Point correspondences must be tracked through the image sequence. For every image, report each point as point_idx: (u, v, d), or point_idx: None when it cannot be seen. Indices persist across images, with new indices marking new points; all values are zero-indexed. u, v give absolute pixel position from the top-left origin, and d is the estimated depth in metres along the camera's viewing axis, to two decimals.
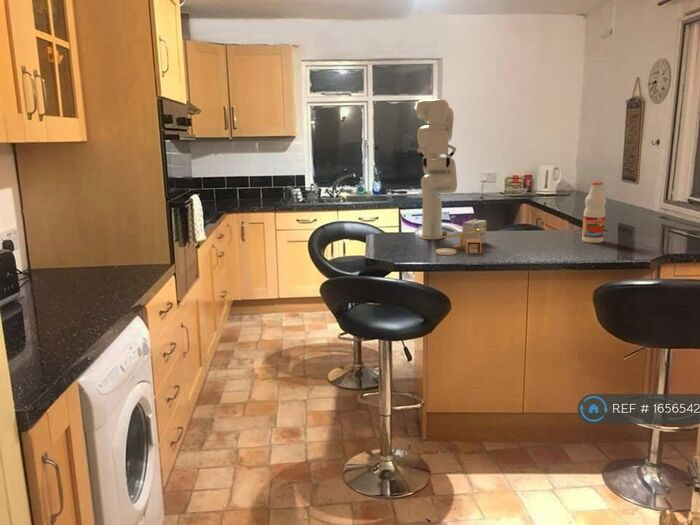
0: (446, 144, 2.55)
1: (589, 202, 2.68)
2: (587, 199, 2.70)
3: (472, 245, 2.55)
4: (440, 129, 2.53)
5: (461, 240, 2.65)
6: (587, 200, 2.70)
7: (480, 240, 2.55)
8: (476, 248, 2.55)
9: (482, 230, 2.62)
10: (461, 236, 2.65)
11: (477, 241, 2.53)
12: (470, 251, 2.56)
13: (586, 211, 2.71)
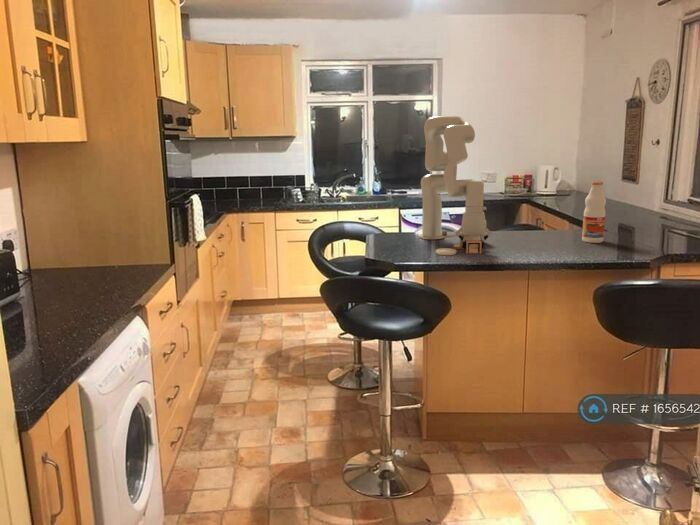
0: (483, 226, 2.52)
1: (589, 202, 2.68)
2: (587, 199, 2.70)
3: (472, 245, 2.55)
4: (478, 212, 2.50)
5: (461, 240, 2.65)
6: (587, 200, 2.70)
7: (480, 240, 2.55)
8: (476, 248, 2.55)
9: None
10: None
11: (477, 241, 2.53)
12: (470, 251, 2.56)
13: (586, 211, 2.71)
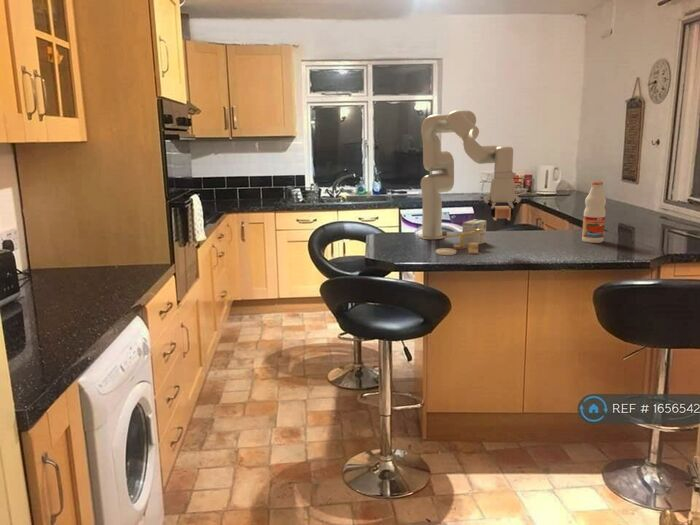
0: (513, 192, 2.48)
1: (589, 202, 2.68)
2: (587, 199, 2.70)
3: (472, 245, 2.55)
4: (507, 177, 2.45)
5: (461, 240, 2.65)
6: (587, 200, 2.70)
7: (509, 207, 2.51)
8: (476, 248, 2.55)
9: (482, 230, 2.62)
10: (461, 236, 2.65)
11: (506, 208, 2.49)
12: (470, 251, 2.56)
13: (586, 211, 2.71)
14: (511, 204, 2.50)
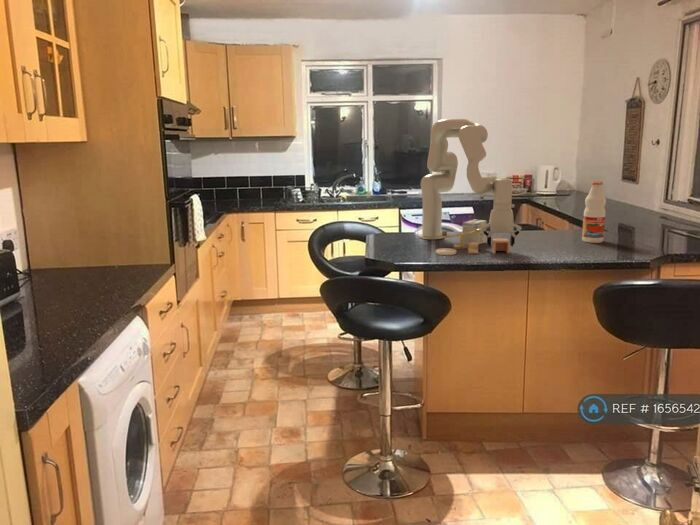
0: (512, 223, 2.51)
1: (589, 202, 2.68)
2: (587, 199, 2.70)
3: (472, 245, 2.55)
4: (506, 209, 2.49)
5: (461, 240, 2.65)
6: (587, 200, 2.70)
7: (508, 240, 2.54)
8: (476, 248, 2.55)
9: None
10: (461, 236, 2.65)
11: (505, 241, 2.52)
12: (470, 251, 2.56)
13: (586, 211, 2.71)
14: (512, 233, 2.53)
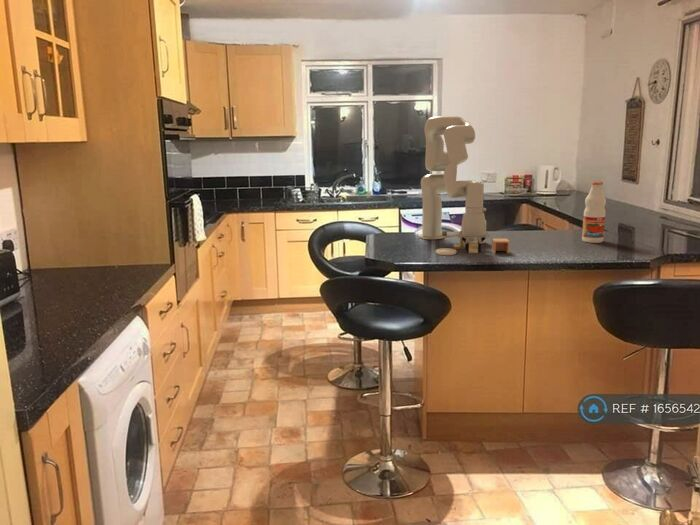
0: (483, 227, 2.52)
1: (589, 202, 2.68)
2: (587, 199, 2.70)
3: (472, 245, 2.55)
4: (478, 213, 2.50)
5: (461, 240, 2.65)
6: (587, 200, 2.70)
7: (508, 240, 2.54)
8: (476, 248, 2.55)
9: None
10: None
11: (505, 241, 2.52)
12: (470, 251, 2.56)
13: (586, 211, 2.71)
14: (480, 239, 2.55)
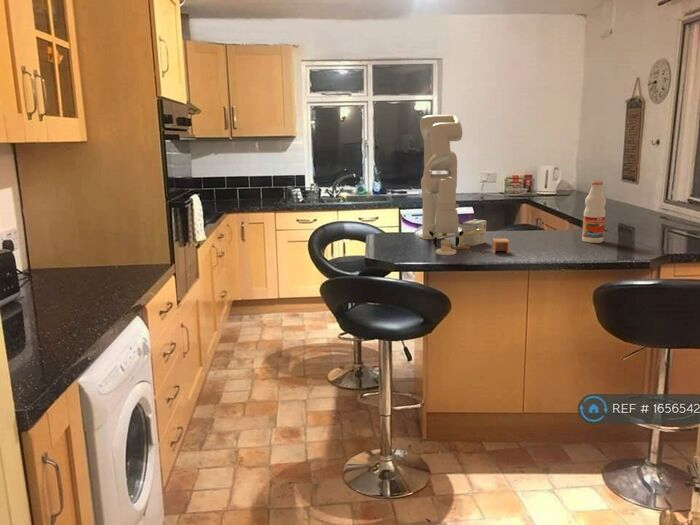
0: (456, 223, 2.51)
1: (589, 202, 2.68)
2: (587, 199, 2.70)
3: (445, 243, 2.54)
4: (450, 209, 2.48)
5: (461, 240, 2.65)
6: (587, 200, 2.70)
7: (508, 240, 2.54)
8: (449, 246, 2.55)
9: (482, 230, 2.62)
10: (461, 236, 2.65)
11: (505, 241, 2.52)
12: (443, 249, 2.55)
13: (586, 211, 2.71)
14: (457, 234, 2.53)
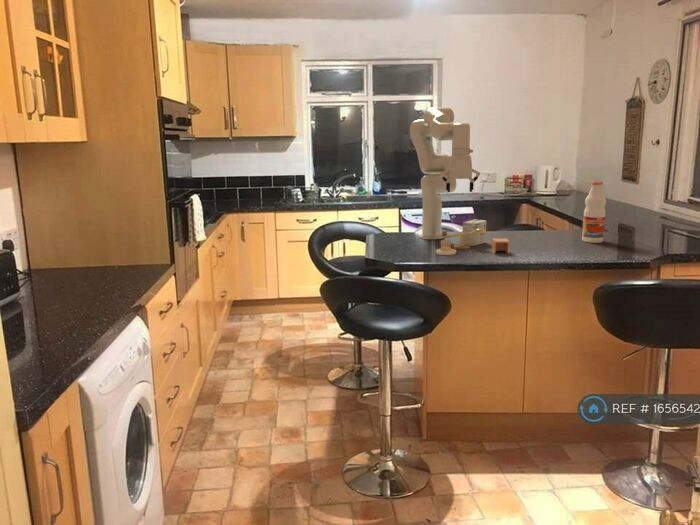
0: (470, 169, 2.51)
1: (589, 202, 2.68)
2: (587, 199, 2.70)
3: (445, 243, 2.54)
4: (464, 154, 2.48)
5: (461, 240, 2.65)
6: (587, 200, 2.70)
7: (508, 240, 2.54)
8: (449, 246, 2.55)
9: (482, 230, 2.62)
10: (461, 236, 2.65)
11: (505, 241, 2.52)
12: (443, 249, 2.55)
13: (586, 211, 2.71)
14: (471, 179, 2.53)
